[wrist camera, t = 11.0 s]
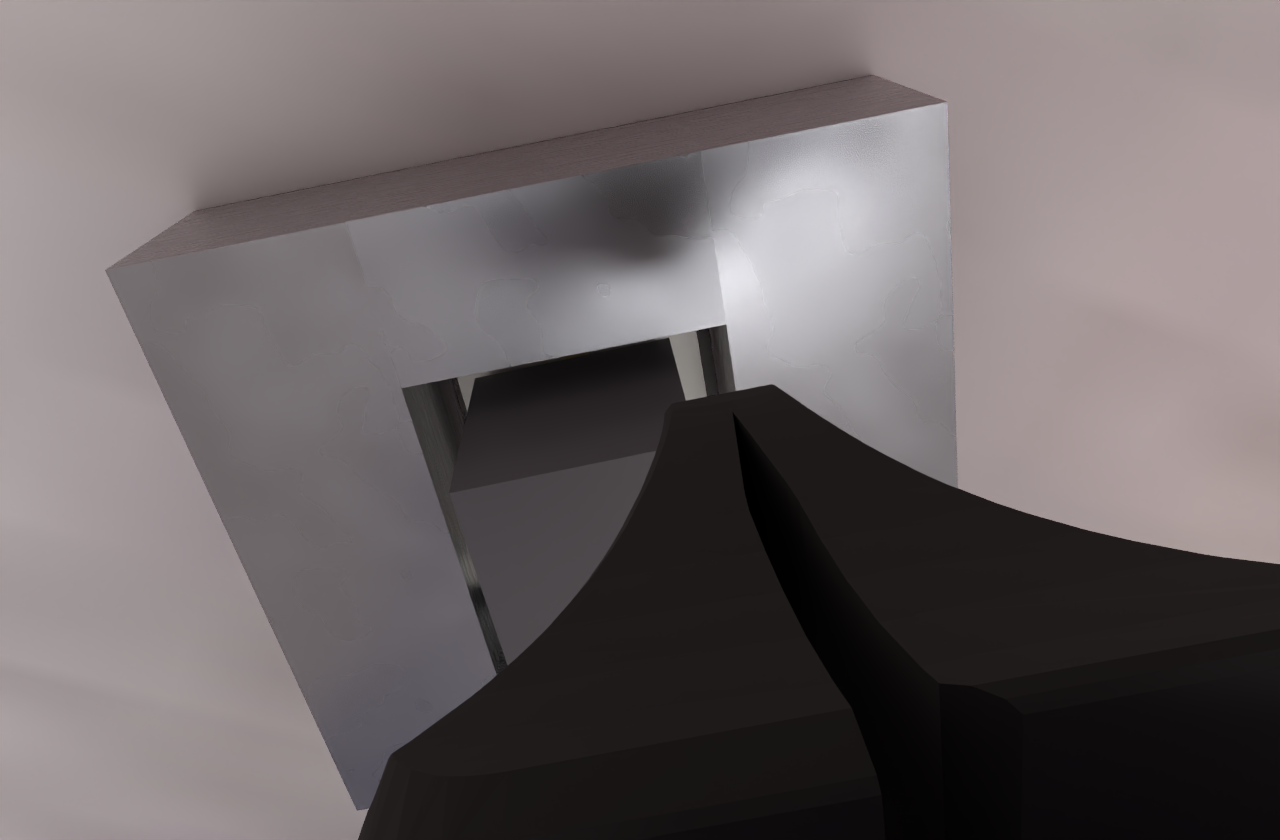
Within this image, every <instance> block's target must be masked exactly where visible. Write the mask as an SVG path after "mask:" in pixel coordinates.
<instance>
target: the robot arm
mask: <svg viewBox="0 0 1280 840" xmlns="http://www.w3.org/2000/svg"><path fill="white" fill-rule="evenodd" d="M358 840H1280V564H1272V563H1264V562H1256V561H1248V560H1240V559H1232V558H1223V557H1217V556H1210V555H1204V554H1198V553H1193V552H1188V551H1183V550H1177V549H1172V548H1167V547H1162V546H1156V545H1151V544H1146V543H1141V542H1135V541H1131V540H1126V539H1122V538H1118V537H1113V536H1109V535H1105V534H1100V533H1096V532H1092V531H1088V530H1084V529H1080V528H1077V527H1073V526H1070V525H1066V524H1063V523H1059V522H1055V521H1052V520H1048V519H1045V518H1041V517H1038V516H1034V515H1031V514H1027V513H1024V512H1021V511H1018V510H1015V509H1012V508H1009V507H1006V506H1003V505H1000V504H997V503H994V502H992V501H989V500H986V499H984V498H981V497H979V496H976V495H973V494H971V493H968V492H966V491H963V490H961V489H958V488H955V487H953V486H950V485H948V484H945V483H943V482H941V481H938V480H936V479H934V478H932V477H929V476H927V475H925V474H923V473H921V472H919V471H917V470H915V469H913V468H911V467H909V466H907V465H905V464H903V463H901V462H899V461H897V460H895V459H893V458H891V457H889V456H887V455H885V454H883V453H881V452H879V451H878V450H876V449H874V448H872V447H870V446H869V445H867V444H865V443H863V442H861V441H860V440H858V439H856V438H855V437H853V436H851V435H850V434H848V433H846V432H845V431H843V430H841V429H840V428H838V427H837V426H835V425H833V424H832V423H830V422H829V421H827V420H826V419H824V418H822V417H821V416H819V415H818V414H816V413H815V412H813V411H812V410H810V409H809V408H807V407H806V406H804V405H803V404H802V403H800V402H799V401H797V400H796V399H794V398H793V397H791V396H790V395H788V394H787V393H786V392H784V391H783V390H781V389H780V388H778V387H777V386H775V385H773V384H770V385H765V386H759V387H754V388H749V389H744V390H739V391H734V392H728V393H723V394H718V395H713V396H708V397H702V398H697V399H692V400H687V401H682V402H676V403H672V404H671V405H670V407H669V408H668V409H667V410H666V412H665V413H664V424H663V429H662V434H661V437H660V441H659V444H658V447H657V450H656V453H655V456H654V459H653V461H652V464H651V466H650V469H649V471H648V474H647V476H646V479H645V481H644V484H643V486H642V489H641V491H640V493H639V495H638V497H637V499H636V501H635V503H634V505H633V507H632V509H631V511H630V512H629V514H628V516H627V518H626V520H625V522H624V524H623V526H622V528H621V530H620V532H619V533H618V535H617V537H616V538H615V540H614V542H613V543H612V545H611V547H610V548H609V550H608V551H607V553H606V554H605V556H604V558H603V559H602V561H601V562H600V563H599V565H598V566H597V568H596V569H595V571H594V572H593V573H592V575H591V576H590V578H589V579H588V580H587V582H586V583H585V584H584V586H583V587H582V588H581V589H580V591H579V592H578V593H577V594H576V596H575V597H574V598H573V599H572V601H571V602H570V603H569V604H568V605H567V606H566V608H565V609H564V610H563V611H562V612H561V613H560V614H559V615H558V617H557V618H556V619H555V620H554V621H553V622H552V623H551V625H550V626H549V627H548V628H547V629H546V630H545V631H544V632H543V633H542V634H541V635H540V636H539V637H538V638H537V639H536V640H535V641H534V642H533V643H532V644H531V645H530V646H529V647H528V648H526V649H525V650H524V651H523V652H522V653H521V654H520V655H519V656H518V657H517V658H516V659H515V660H514V661H512V662H511V663H510V664H509V665H508V666H507V667H506V668H504V669H503V670H502V671H501V672H500V673H499V674H498V675H496V676H495V677H494V678H493V679H492V680H491V681H490V682H488V683H487V684H486V685H485V686H483V687H482V688H481V689H480V690H479V691H477V692H476V693H475V694H474V695H472V696H471V697H470V698H468V699H467V700H466V701H464V702H463V703H462V704H460V705H459V706H458V707H456V708H455V709H453V710H452V711H451V712H449V713H448V714H447V715H445V716H444V717H443V718H441V719H440V720H438V721H437V722H436V723H434V724H433V725H432V726H430V727H429V728H428V729H426V730H425V731H423V732H422V733H421V734H419V735H418V736H417V737H415V738H414V739H413V740H411V741H410V742H408V743H407V744H405V745H404V746H402V747H401V748H399V749H398V750H396V751H395V752H393V753H392V754H391V755H390V757H389V758H388V761H387V763H386V766H385V769H384V772H383V774H382V777H381V780H380V783H379V785H378V788H377V791H376V793H375V796H374V798H373V801H372V803H371V805H370V808H369V810H368V813H367V815H366V818H365V821H364V824H363V827H362V830H361V833H360V835H359V838H358Z"/></svg>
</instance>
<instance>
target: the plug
mask: <svg viewBox="0 0 1280 840" xmlns="http://www.w3.org/2000/svg"><path fill="white" fill-rule="evenodd" d="M682 401H686V399H685V395H684V392H683V388H682V384H681V380H680V377H679V373H678V369H677V366H676V362H675V358H674V354H673V351H672V347H671V343H670V339H669V338H665V339H661V340H656V341H651V342H646V343H642V344H637V345H632V346H627V347H622V348H618V349H613V350H608V351H603V352H598V353H594V354H589V352H584V353H579V354H574V355H569V356H563V357H561V360H560V361H555V362H551V363H546V364H541V365H536V366H531V367H527V368H522V369H517V370H512V371H507V372H503V373H498V374H493V375H488V376H484V377H479V378H475V380H474V385H473V389H472V394H471V398H470V403H469V407H468V411H467V416H466V420H465V425H464V429H463V433H462V438H461V442H460V447H459V451H458V455H457V460H456V464H455V469H454V473H453V477H452V482H451V486H450V491H449V495H450V498H451V501H452V504H453V507H454V510H455V513H456V516H457V519H458V522H459V525H460V528H461V530H462V533H463V536H464V539H465V542H466V545H467V548H468V551H469V554H470V557H471V560H472V563H473V566H474V568H475V571H476V574H477V577H478V580H479V583H480V586H481V589H482V592H483V595H484V598H485V601H486V604H487V606H488V609H489V612H490V615H491V618H492V621H493V624H494V627H495V630H496V633H497V636H498V639H499V642H500V645H501V647H502V650H503V653H504V656H505V659H506V662H507V665H509V664H510V663H511V662H512V661H514V660H515V659H516V658H517V657H518V656H519V655H520V654H521V653H522V652H523V651H524V650H525V649H526V648H528V647H529V646H530V645H531V644H532V643H533V642H534V641H535V640H536V639H537V638H538V637H539V636H540V635H541V634H542V633H543V632H544V631H545V630H546V629H547V628H548V627H549V626H550V625H551V623H552V622H553V621H554V620H555V619H556V618H557V617H558V615H559V614H560V613H561V612H562V611H563V610H564V609H565V608H566V606H567V605H568V604H569V603H570V602H571V601H572V599H573V598H574V597H575V596H576V594H577V593H578V592H579V591H580V589H581V588H582V587H583V586H584V584H585V583H586V582H587V580H588V579H589V578H590V576H591V575H592V573H593V572H594V571H595V569H596V568H597V566H598V565H599V563H600V562H601V561H602V559H603V558H604V556H605V554H606V553H607V551H608V550H609V548H610V547H611V545H612V543H613V542H614V540H615V538H616V537H617V535H618V533H619V532H620V530H621V528H622V526H623V524H624V522H625V520H626V518H627V516H628V514H629V512H630V511H631V509H632V507H633V505H634V503H635V501H636V499H637V497H638V495H639V493H640V491H641V489H642V486H643V484H644V481H645V479H646V476H647V474H648V471H649V469H650V466H651V464H652V461H653V459H654V456H655V453H656V450H657V447H658V444H659V441H660V437H661V434H662V429H663V424H664V413H665V412H666V410H667V409H668V408H669V407H670V405H671V404H672V403H676V402H682Z"/></svg>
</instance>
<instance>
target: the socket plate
mask: <svg viewBox="0 0 1280 840" xmlns="http://www.w3.org/2000/svg"><path fill="white" fill-rule="evenodd" d="M105 271H106V273H107V275H108V277H109V279H110V281H111V283H112V286H113V288H114V290H115V292H116V294H117V296H118V298H119V301H120V303H121V305H122V307H123V309H124V311H125V313H126V316H127V318H128V320H129V322H130V324H131V326H132V329H133V331H134V333H135V335H136V337H137V339H138V341H139V344H140V346H141V348H142V350H143V352H144V354H145V356H146V359H147V361H148V363H149V365H150V367H151V369H152V371H153V374H154V376H155V378H156V380H157V382H158V384H159V386H160V389H161V391H162V393H163V395H164V397H165V399H166V401H167V404H168V406H169V408H170V410H171V412H172V414H173V417H174V419H175V421H176V423H177V425H178V427H179V429H180V432H181V434H182V436H183V438H184V440H185V442H186V444H187V447H188V449H189V451H190V453H191V455H192V457H193V459H194V462H195V464H196V466H197V468H198V470H199V472H200V474H201V477H202V479H203V481H204V483H205V485H206V487H207V489H208V492H209V494H210V496H211V498H212V500H213V502H214V505H215V507H216V509H217V511H218V513H219V515H220V517H221V520H222V522H223V524H224V526H225V528H226V530H227V532H228V535H229V537H230V539H231V541H232V543H233V545H234V547H235V550H236V552H237V554H238V556H239V558H240V560H241V562H242V565H243V567H244V569H245V571H246V573H247V575H248V577H249V580H250V582H251V584H252V586H253V588H254V590H255V593H256V595H257V597H258V599H259V601H260V603H261V605H262V608H263V610H264V612H265V614H266V616H267V618H268V620H269V623H270V625H271V627H272V629H273V631H274V633H275V635H276V638H277V640H278V642H279V644H280V646H281V648H282V650H283V653H284V655H285V657H286V659H287V661H288V663H289V665H290V668H291V670H292V672H293V674H294V676H295V678H296V681H297V683H298V685H299V687H300V689H301V691H302V693H303V696H304V698H305V700H306V702H307V704H308V706H309V708H310V711H311V713H312V715H313V717H314V719H315V721H316V723H317V726H318V728H319V730H320V732H321V734H322V736H323V738H324V741H325V743H326V745H327V747H328V749H329V751H330V753H331V756H332V758H333V760H334V762H335V764H336V766H337V769H338V771H339V773H340V775H341V777H342V779H343V781H344V784H345V786H346V788H347V790H348V792H349V794H350V796H351V799H352V801H353V803H354V805H355V807H356V809H357V810H362V809H368V808H370V805H371V803H372V801H373V798H374V796H375V793H376V791H377V788H378V785H379V783H380V780H381V777H382V774H383V772H384V769H385V766H386V763H387V761H388V758H389V757H390V755H391V754H392V753H393V752H395V751H396V750H398V749H399V748H401V747H402V746H404V745H405V744H407V743H408V742H410V741H411V740H413V739H414V738H415V737H417V736H418V735H419V734H421V733H422V732H423V731H425V730H426V729H428V728H429V727H430V726H432V725H433V724H434V723H436V722H437V721H438V720H440V719H441V718H443V717H444V716H445V715H447V714H448V713H449V712H451V711H452V710H453V709H455V708H456V707H458V706H459V705H460V704H462V703H463V702H464V701H466V700H467V699H468V698H470V697H471V696H472V695H474V694H475V693H476V692H477V691H479V690H480V689H481V688H482V687H483V686H485V685H486V684H487V683H488V682H490V681H491V680H492V679H493V678H494V677H495V676H496V675H498V674H499V673H500V672H501V671H502V670H503V669H504V668H506V667H507V666H508V665H507V662H506V659H505V656H504V653H503V650H502V647H501V645H500V642H499V639H498V636H497V633H496V630H495V627H494V624H493V621H492V618H491V615H490V612H489V609H488V606H487V604H486V601H485V598H484V595H483V592H482V589H481V586H480V583H479V580H478V577H477V574H476V571H475V568H474V566H473V563H472V560H471V557H470V554H469V551H468V548H467V545H466V542H465V539H464V536H463V533H462V530H461V528H460V525H459V522H458V519H457V516H456V513H455V510H454V507H453V504H452V501H451V498H450V495H449V491H450V486H451V482H452V477H453V473H454V469H455V464H456V460H457V455H458V451H459V447H460V442H461V438H462V433H463V429H464V425H465V422H464V418H463V415H462V412H461V408H460V405H459V402H458V399H457V395H456V392H455V389H454V385H453V382H452V379H451V378H456V377H461V376H466V375H472V374H477V373H482V372H487V371H492V370H497V369H502V368H507V367H512V366H518V365H523V364H528V363H533V362H538V361H543V360H548V359H553V358H558V357H563V356H569V355H574V354H579V353H584V352H589V351H594V350H599V349H604V348H609V347H614V346H620V345H625V344H630V343H635V342H640V341H645V340H650V339H655V338H660V337H665V336H671V335H676V334H681V333H686V332H691V331H696V330H701V329H706V328H709V333H710V340H711V346H712V352H713V359H714V365H715V371H716V378H717V384H718V390H719V394H723V393H728V392H734V391H739V390H744V389H749V388H754V387H759V386H765V385H770V384H773V385H775V386H777V387H778V388H780V389H781V390H783V391H784V392H786V393H787V394H788V395H790V396H791V397H793V398H794V399H796V400H797V401H799V402H800V403H802V404H803V405H804V406H806V407H807V408H809V409H810V410H812V411H813V412H815V413H816V414H818V415H819V416H821V417H822V418H824V419H826V420H827V421H829V422H830V423H832V424H833V425H835V426H837V427H838V428H840V429H841V430H843V431H845V432H846V433H848V434H850V435H851V436H853V437H855V438H856V439H858V440H860V441H861V442H863V443H865V444H867V445H869V446H870V447H872V448H874V449H876V450H878V451H879V452H881V453H883V454H885V455H887V456H889V457H891V458H893V459H895V460H897V461H899V462H901V463H903V464H905V465H907V466H909V467H911V468H913V469H915V470H917V471H919V472H921V473H923V474H925V475H927V476H929V477H932V478H934V479H936V480H938V481H941V482H943V483H945V484H948V485H950V486H953V487H955V488H958V483H957V446H956V408H955V371H954V333H953V296H952V258H951V220H950V183H949V145H948V108H947V102H946V101H944V100H941V99H938V98H935V97H933V96H930V95H927V94H924V93H922V92H919V91H916V90H913V89H911V88H908V87H905V86H902V85H900V84H897V83H894V82H891V81H889V80H886V79H883V78H880V77H878V76H875V75H871V76H866V77H861V78H856V79H851V80H846V81H841V82H836V83H831V84H826V85H821V86H816V87H812V88H807V89H802V90H797V91H792V92H787V93H782V94H777V95H772V96H767V97H762V98H757V99H752V100H747V101H742V102H737V103H732V104H727V105H722V106H717V107H712V108H707V109H702V110H697V111H692V112H687V113H682V114H677V115H672V116H667V117H662V118H657V119H652V120H647V121H642V122H637V123H632V124H627V125H622V126H617V127H612V128H607V129H602V130H597V131H592V132H587V133H582V134H577V135H572V136H567V137H562V138H557V139H552V140H547V141H542V142H537V143H532V144H527V145H523V146H518V147H513V148H508V149H503V150H498V151H493V152H488V153H483V154H478V155H473V156H468V157H463V158H458V159H453V160H448V161H443V162H438V163H433V164H428V165H423V166H418V167H413V168H408V169H403V170H398V171H393V172H388V173H383V174H378V175H373V176H368V177H363V178H358V179H353V180H348V181H343V182H338V183H333V184H328V185H323V186H318V187H313V188H308V189H303V190H298V191H293V192H288V193H283V194H278V195H273V196H268V197H263V198H258V199H253V200H248V201H243V202H239V203H234V204H229V205H224V206H219V207H214V208H209V209H204V210H199V211H194V212H193V213H191V214H190V215H188V216H187V217H185V218H184V219H182V220H181V221H179V222H178V223H176V224H174V225H173V226H171V227H170V228H168V229H167V230H165V231H164V232H162V233H161V234H159V235H158V236H156V237H155V238H153V239H152V240H150V241H149V242H147V243H146V244H144V245H143V246H141V247H140V248H138V249H137V250H135V251H134V252H132V253H131V254H129V255H128V256H126V257H124V258H123V259H121V260H120V261H118V262H117V263H115V264H114V265H112V266H111V267H109V268H108V269H106V270H105Z"/></svg>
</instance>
